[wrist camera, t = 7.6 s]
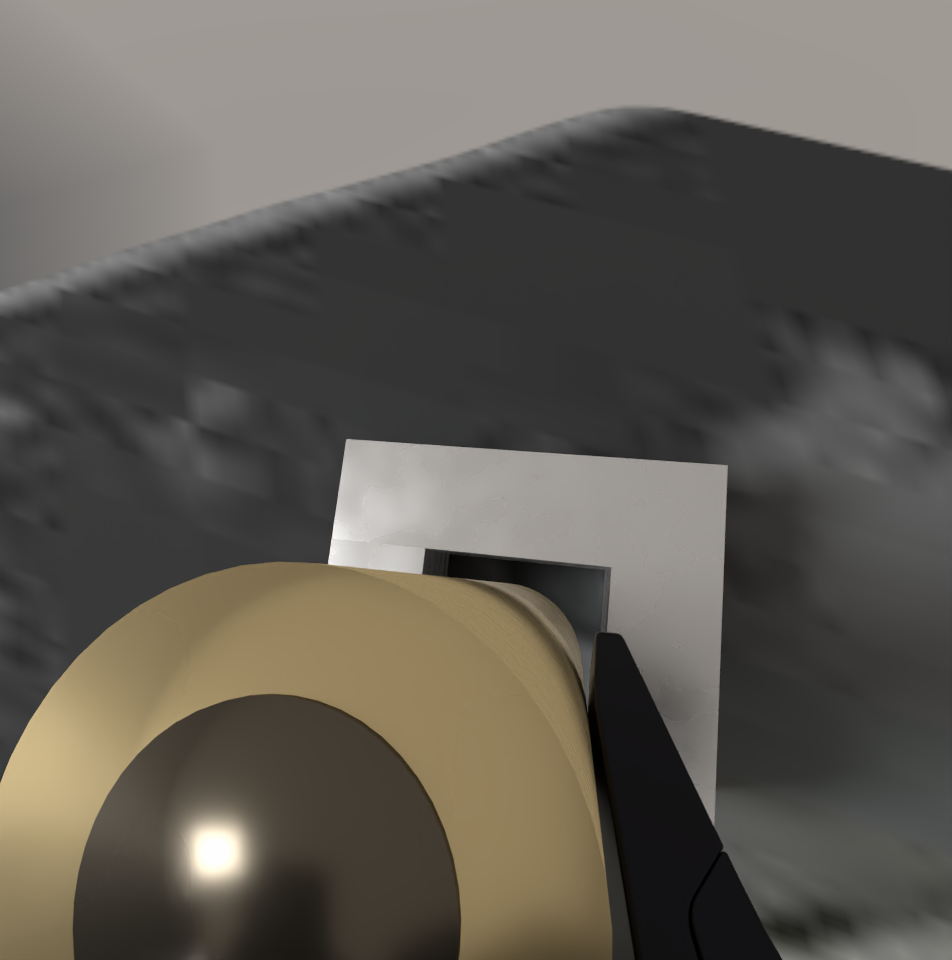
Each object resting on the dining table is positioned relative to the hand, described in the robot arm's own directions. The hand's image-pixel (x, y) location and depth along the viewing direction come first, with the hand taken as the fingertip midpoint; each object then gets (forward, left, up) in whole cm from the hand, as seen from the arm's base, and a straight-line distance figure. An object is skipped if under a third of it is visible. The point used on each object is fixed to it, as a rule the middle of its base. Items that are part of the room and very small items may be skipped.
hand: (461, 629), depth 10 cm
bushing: (-1, 0, -7) cm, 7 cm away
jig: (0, 0, -13) cm, 13 cm away
